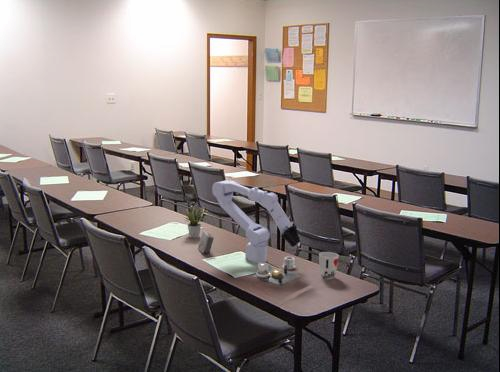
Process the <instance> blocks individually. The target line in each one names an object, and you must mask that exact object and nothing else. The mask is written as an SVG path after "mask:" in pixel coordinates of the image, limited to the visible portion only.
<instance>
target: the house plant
mask: <svg viewBox="0 0 500 372" xmlns="http://www.w3.org/2000/svg"><path fill="white" fill-rule="evenodd" d="M204 208H205V206H203V207H201V208H200V209H199V210H198V211H197V210H196V208H195V207H194V206H192V208H191V210H192V213H191V211H189V210H188V209H187V208H185V211H187V212H186V215H187V216H186V217H185V219H186V220H185V222H188V224H187V229H188V235H189V236H188V237H190V236H191V238H199V237H200V232H201V229H202V228H201V227H202V224H201V223H199V222H201V219H202V217H203V216H204V214H203V213H204V212H209V210H208V209H207V210H206V209H205V210H203V209H204ZM185 211H182V212H184V213H185ZM204 220H206V219H205V218H203V220H202V222H204ZM204 223H205V222H204ZM198 236H199V237H198Z"/></svg>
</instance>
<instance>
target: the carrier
mask: <svg viewBox="0 0 500 372" xmlns="http://www.w3.org/2000/svg"><path fill="white" fill-rule="evenodd" d="M283 265H284V264H283ZM268 272H270V277H268V278H258V277H256V274H254V275H252V277H253V278H256V279H259V280H263V281H266V282H270V283H273V284H275V285H279V286H282V285H283V286H284V285H285V284H288V282H292V281H294V280H296V279H298V278H300V277H301V276H302V275H303V274H302V275H301V274H298V273H295V272H292V271H288V268H287V265H284V267H283V269H281V268H278V267H274V266H273V267H271V268H268ZM302 277H303V276H302Z"/></svg>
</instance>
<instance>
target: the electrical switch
mask: <svg viewBox="0 0 500 372" xmlns="http://www.w3.org/2000/svg"><path fill="white" fill-rule="evenodd" d="M214 239H215V237H213V235H212V234H211V233H208V232H206V231H205V230H203V231H202V232H201V237H200V240H199V243H198V246H197V249H198V250H199V251H200V253H201V254H202V255H204V254H206V253H208V254H210V252H211V248H212V245H213V242H214Z"/></svg>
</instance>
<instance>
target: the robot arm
mask: <svg viewBox="0 0 500 372" xmlns="http://www.w3.org/2000/svg"><path fill="white" fill-rule="evenodd" d="M211 193H212V195H213V196H214V197H215V198H216V200H217V202H218V205H219V206H220V207H221V209H223V210H224V211H225V213H227V214H228V215H229V216H230V218H232V219H233V220H234V221H235V222H236V223H237V224H238V225H239V226H240V227H241V228H242V229H243V230H244V232H245V237H246V239H247V240H248V243H247V244H246V246H245V249H244V251H245V253H244V255H245V258H244V259H245V260H246V261H248V262H249V261H250V262H252V263H255V264H258V263H267V258H268V257H267V255H268V254H267V252H268V251H267V250H268V241H269V239H270V237H271V233H270V231H269V229H268V228H266V227H264V226H262V225H261V224H258V223H255V222H254V221H253V220H252V219H251V218H250V217H249V216H248V215H247V214H246V213H245V212H244V210H242V209H241V208H240V207H239V206H238V205H237V204H235V202H233V200H232V199H233V195H234V193H237V194H240V195H243V196H247V197H248V199H249V200H250V201H253V202H255V203H258V204H260V205H261V207H263V208H265V209H266V211H268V213H269V215H270V216H271V217H272V219H273V221H274V222H275V224H276V226H277V228H278V229H279V232H281V234H282V235H281V236H280V237H281V238H282V239H284V240H285V241H286V242H287V243H288V244H289V245H290V246H291V248H294V247H295V246H297V244H299V243H301V240H300V237H299V234H298V229H297V224H296V225H293V224H294V223H295V222H294V221H292V222H291V221H290V218H289V217H288V215H287V214H286V213H285V211H284V210H283V208H282V206H281V205H280V203H279V197H278V195H277V194H276V193H274V192H273V191H270V192H268V191H267V190H262V189H259V187H256V186H255V187H252V188H249V187H246V186H244V185H242V184H241V183H238V182H236V181H235V180H231V179H225V180H222V181H217V182H214V183H213V184H212V192H211Z"/></svg>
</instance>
